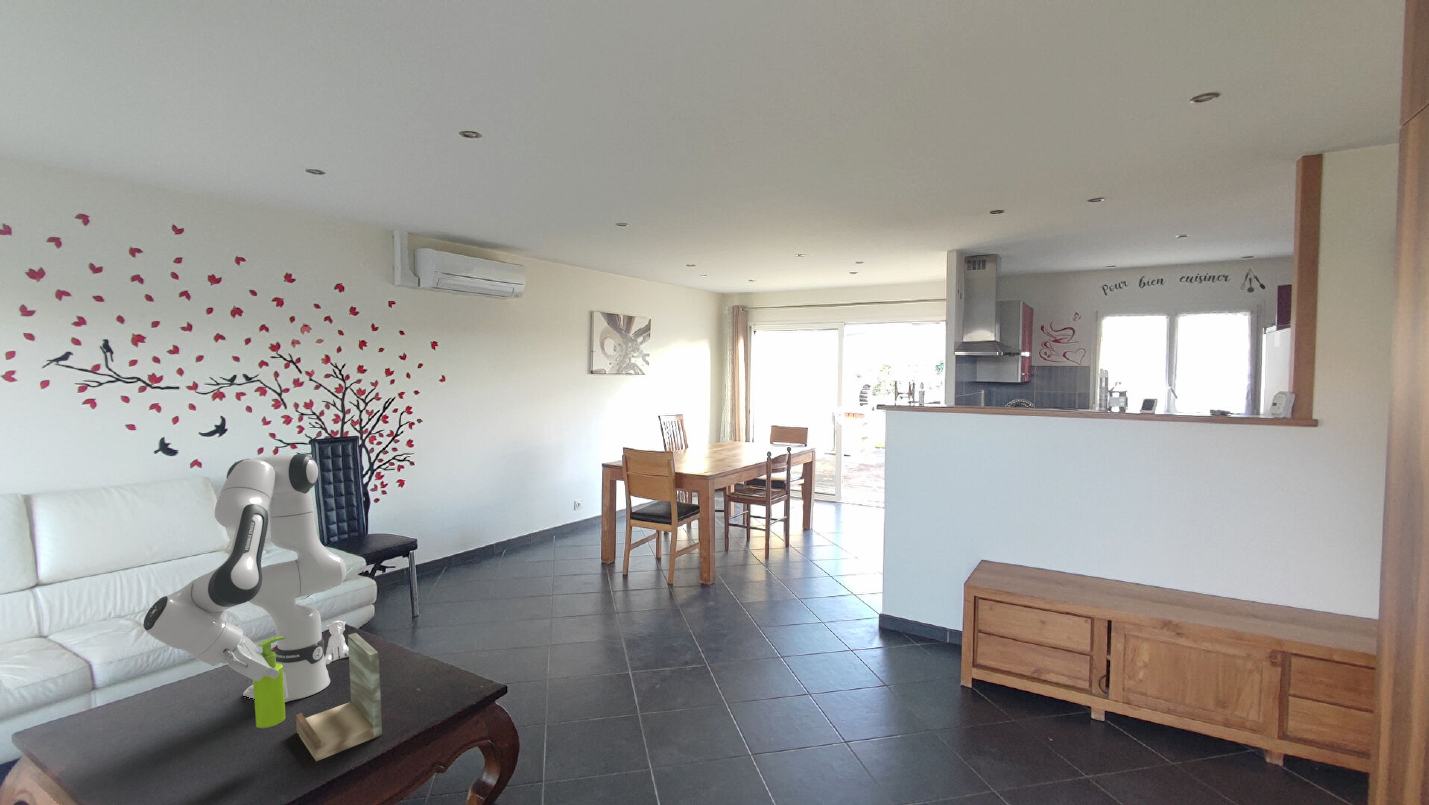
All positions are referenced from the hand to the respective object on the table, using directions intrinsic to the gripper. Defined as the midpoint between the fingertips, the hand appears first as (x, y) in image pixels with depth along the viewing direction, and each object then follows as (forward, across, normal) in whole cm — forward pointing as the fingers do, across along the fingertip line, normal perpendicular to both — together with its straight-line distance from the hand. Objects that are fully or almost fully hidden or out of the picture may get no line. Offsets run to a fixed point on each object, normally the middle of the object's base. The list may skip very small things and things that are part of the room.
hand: (273, 669), depth 153 cm
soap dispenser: (+8, 0, +9) cm, 13 cm away
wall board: (+25, 0, +6) cm, 26 cm away
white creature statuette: (+35, +50, -2) cm, 61 cm away
